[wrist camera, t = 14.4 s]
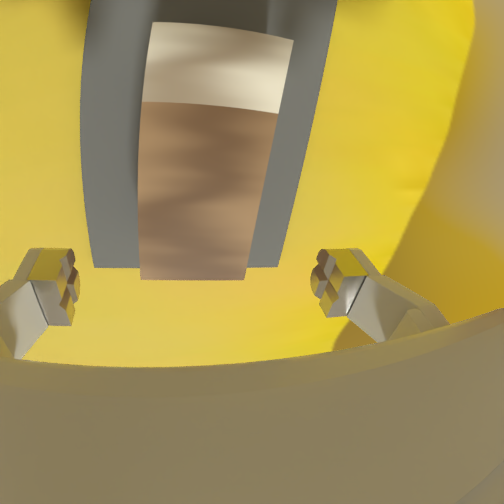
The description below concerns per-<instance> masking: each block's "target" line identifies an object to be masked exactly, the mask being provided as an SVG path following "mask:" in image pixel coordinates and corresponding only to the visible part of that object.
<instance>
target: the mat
mask: <svg viewBox="0 0 504 504" xmlns="http://www.w3.org/2000/svg"><path fill="white" fill-rule="evenodd" d="M336 5H337V0H91V4H90V10H89V16H88V22H87V29H86V36H85V44H84V53H83V64H82V77H81V98H80V144H81V166H82V180H83V192H84V202H85V211H86V219H87V226H88V233H89V240H90V246H91V252H92V258H93V263H94V268H140V261H139V240H138V153H139V133H140V118H141V106H142V95H143V86H144V77H145V69H146V61H147V54H148V47H149V41H150V35H151V29H152V23H153V22H171V23H189V24H201V25H211V26H220V27H227V28H234V29H241V30H247V31H253V32H258V33H263V34H268V35H273V36H278V37H282V38H286V39H290V40H294V42H293V47H292V51H291V56H290V61H289V66H288V70H287V75H286V80H285V85H284V89H283V94H282V99H281V104H280V109H279V113H278V118H277V123H276V128H275V133H274V137H273V142H272V147H271V152H270V157H269V161H268V166H267V171H266V176H265V181H264V185H263V190H262V195H261V200H260V205H259V210H258V214H257V219H256V224H255V229H254V234H253V239H252V244H251V248H250V253H249V258H248V263H247V268H251V267H278V264H279V260H280V256H281V252H282V248H283V244H284V240H285V236H286V232H287V228H288V224H289V220H290V216H291V212H292V208H293V204H294V200H295V196H296V192H297V188H298V183H299V179H300V175H301V171H302V167H303V162H304V158H305V154H306V149H307V145H308V141H309V136H310V132H311V127H312V123H313V118H314V114H315V109H316V105H317V100H318V95H319V91H320V86H321V81H322V76H323V72H324V67H325V62H326V57H327V52H328V47H329V42H330V37H331V32H332V27H333V21H334V16H335V11H336Z"/></svg>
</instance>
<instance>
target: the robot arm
mask: <svg viewBox="0 0 504 504" xmlns="http://www.w3.org/2000/svg"><path fill="white" fill-rule="evenodd" d="M74 262H75V256H74V252H73V250H72V249H71V248H31V249H29V250H28V252H27V254H26V256H25V257H24V259H23V261H22V263H21V265H20V267H19V268H18V270H17V272H16V274H15V276H14V278H13V280H8V281H6V282H5V283H4V284H2V285H1V286H0V504H504V308H501V309H497V310H494V311H491V312H489V313H486V314H482V315H480V316H476V317H474V318H470V319H467V320H464V321H461V322H457V323H454V324H451V325H450V324H449V323H448V321H447V320H446V319H445V317H444V316H443V315H442V314H441V312H440V311H439V310H438V308H437V307H436V306H435V304H433V303H431V302H430V301H428V300H426V299H425V298H423V297H421V296H420V295H418V294H416V293H415V292H413V291H411V290H410V289H408V288H406V287H404V286H403V285H401V284H399V283H397V282H396V281H394V280H392V279H390V278H389V277H387V276H385V275H381V274H380V273H379V272H378V270H377V269H376V268H375V267H374V265H373V264H372V263H371V262H370V260H369V259H368V258H367V257H366V255H365V254H364V253H363V252H362V250H360V249H358V248H349V249H321V250H320V252H319V253H318V256H317V262H318V265H317V266H316V267H315V268H314V269H313V270H312V274H311V288H312V291H313V293H314V295H315V296H317V297H318V298H320V299H321V300H320V303H319V305H320V307H321V308H322V310H323V312H324V314H325V316H326V318H328V317H339V316H347V317H348V318H349V319H350V320H351V321H352V322H354V323H355V324H356V325H358V327H360V328H361V329H362V330H363V331H365V332H366V333H367V334H368V335H369V336H370V337H372V338H373V339H374V340H375V341H377V342H378V343H374V344H370V345H365V346H360V347H355V348H349V349H343V350H338V351H332V352H326V353H319V354H313V355H306V356H299V357H291V358H284V359H275V360H266V361H257V362H246V363H235V364H222V365H206V366H184V367H106V366H85V365H70V364H58V363H47V362H38V361H30V360H22V358H23V356H24V355H25V354H26V353H27V351H28V350H29V349H30V348H31V346H32V345H33V344H34V343H35V342H36V340H37V339H38V338H39V337H40V336H41V335H42V333H43V332H44V331H45V330H46V329H47V328H48V325H53V326H71V325H72V321H73V317H74V313H75V308H74V305H73V304H74V303H75V302H76V301H77V300H78V298H79V294H80V279H79V274H78V271H77V270H76V269H75V268H74V267H73V265H74Z"/></svg>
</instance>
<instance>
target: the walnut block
mask: <svg viewBox="0 0 504 504" xmlns="http://www.w3.org/2000/svg"><path fill="white" fill-rule="evenodd" d="M293 42H294V40H290V39H286V38H282V37H278V36H273V35H268V34H263V33H258V32H253V31H247V30H241V29H234V28H227V27H220V26H211V25H201V24H189V23H171V22H153V23H152V29H151V35H150V41H149V47H148V54H147V61H146V69H145V77H144V86H143V95H142V106H141V118H140V133H139V153H138V240H139V261H140V276H141V280H244V278H245V273H246V268H247V263H248V258H249V253H250V248H251V244H252V239H253V234H254V229H255V224H256V219H257V214H258V210H259V205H260V200H261V195H262V190H263V185H264V181H265V176H266V171H267V166H268V161H269V157H270V152H271V147H272V142H273V137H274V133H275V128H276V123H277V118H278V113H279V109H280V104H281V99H282V94H283V89H284V85H285V80H286V75H287V70H288V66H289V61H290V56H291V51H292V47H293Z"/></svg>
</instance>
